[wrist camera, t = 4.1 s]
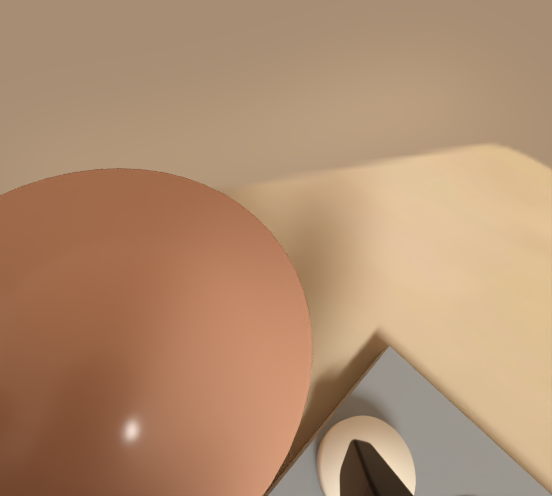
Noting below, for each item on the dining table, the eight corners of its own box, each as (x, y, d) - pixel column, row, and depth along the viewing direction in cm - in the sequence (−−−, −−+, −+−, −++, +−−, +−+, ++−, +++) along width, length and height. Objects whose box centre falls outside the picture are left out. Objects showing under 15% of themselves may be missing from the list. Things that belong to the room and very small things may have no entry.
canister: (172, 532, 13) (-31, 857, 2) (98, 429, 15) (-257, 316, 4) (265, 430, 15) (390, 340, 4) (193, 348, 17) (152, 123, 6)
